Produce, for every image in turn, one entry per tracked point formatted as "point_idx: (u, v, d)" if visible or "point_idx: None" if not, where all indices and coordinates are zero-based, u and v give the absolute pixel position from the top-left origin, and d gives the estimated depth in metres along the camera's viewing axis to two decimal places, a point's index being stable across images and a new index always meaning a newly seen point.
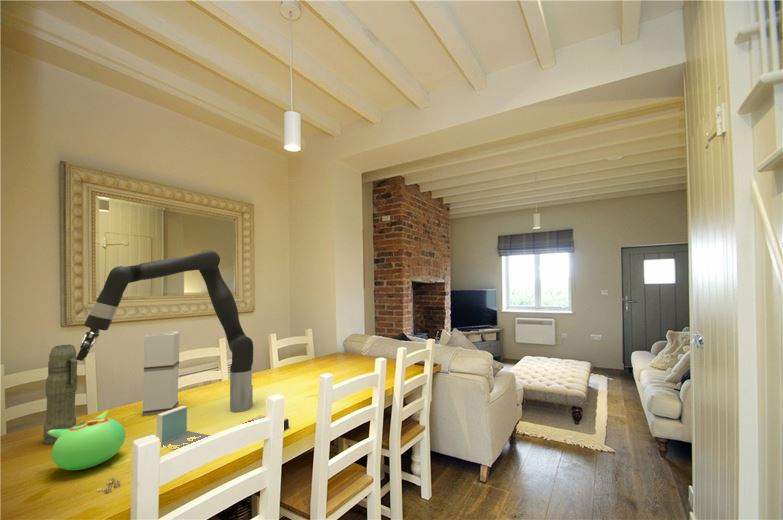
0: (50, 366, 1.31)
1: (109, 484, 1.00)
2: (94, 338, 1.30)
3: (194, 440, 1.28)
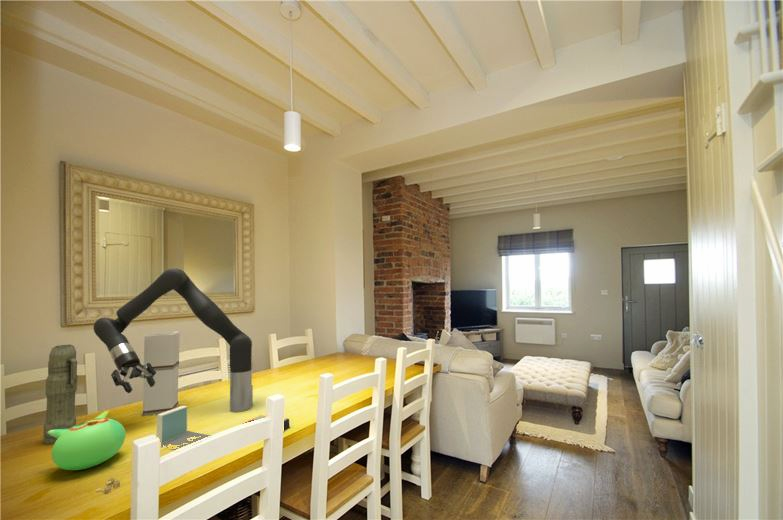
0: (50, 366, 1.31)
1: (109, 484, 1.00)
2: (127, 372, 1.38)
3: (194, 440, 1.28)
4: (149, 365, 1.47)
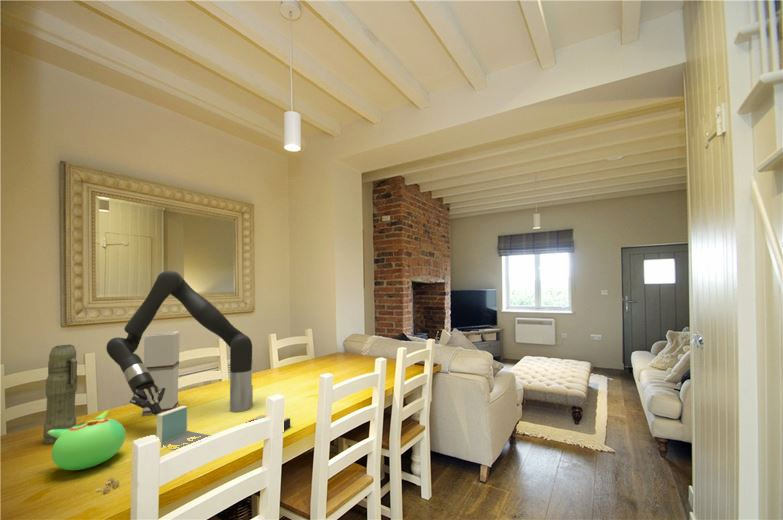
0: (50, 366, 1.31)
1: (108, 484, 0.99)
2: (145, 394, 1.35)
3: (194, 440, 1.28)
4: (162, 390, 1.41)
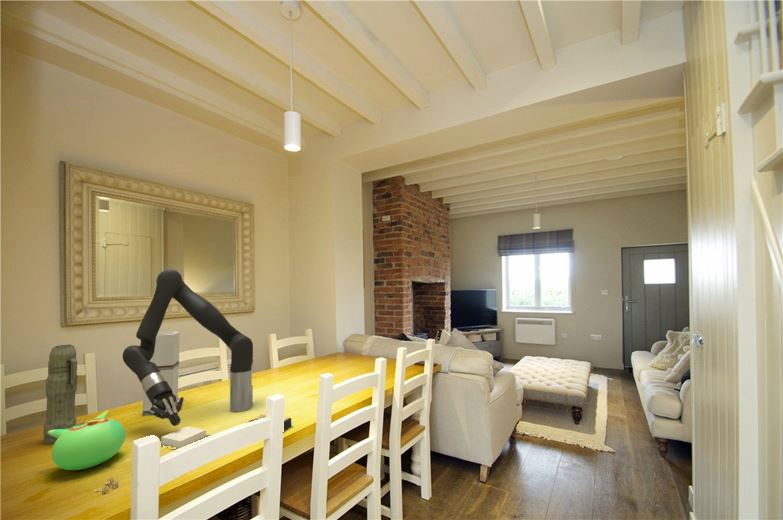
0: (50, 366, 1.31)
1: (107, 484, 0.99)
2: (164, 404, 1.31)
3: None
4: (181, 400, 1.37)
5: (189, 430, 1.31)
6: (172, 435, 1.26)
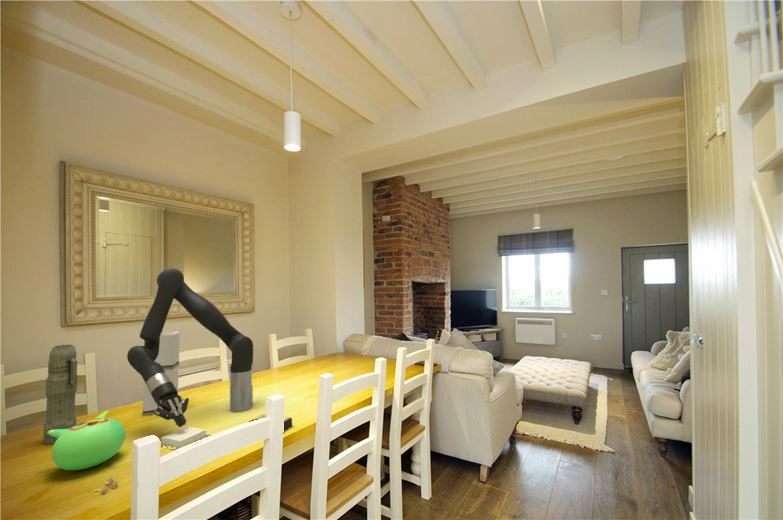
0: (50, 366, 1.31)
1: (107, 485, 0.99)
2: (169, 405, 1.29)
3: None
4: (186, 400, 1.35)
5: (189, 430, 1.31)
6: (172, 435, 1.26)
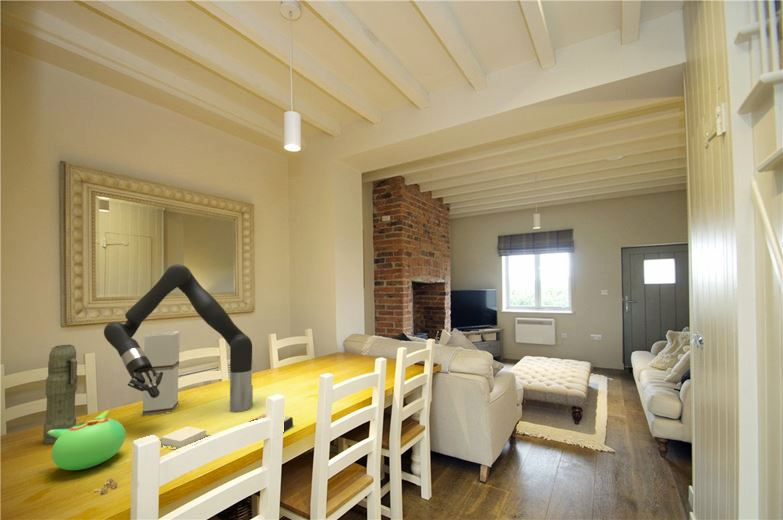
0: (50, 366, 1.31)
1: (106, 485, 0.99)
2: (143, 378, 1.36)
3: None
4: (160, 374, 1.42)
5: (189, 430, 1.31)
6: (172, 435, 1.26)
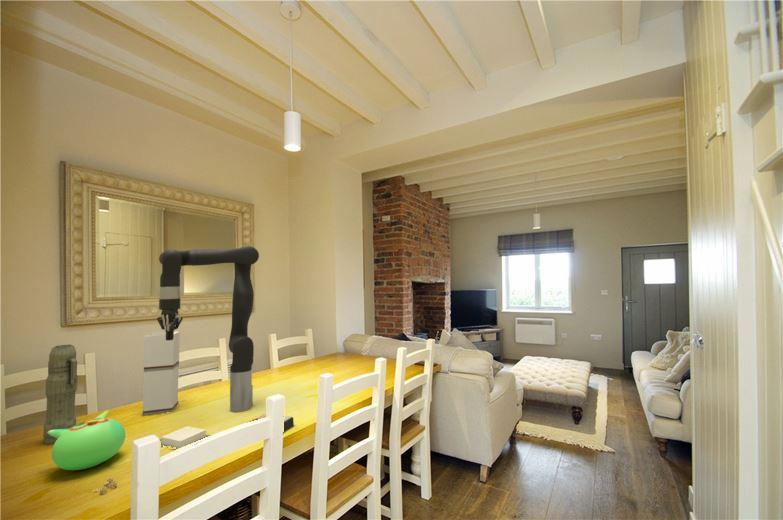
0: (50, 366, 1.31)
1: (106, 485, 0.99)
2: None
3: None
4: None
5: (189, 430, 1.31)
6: (172, 435, 1.26)
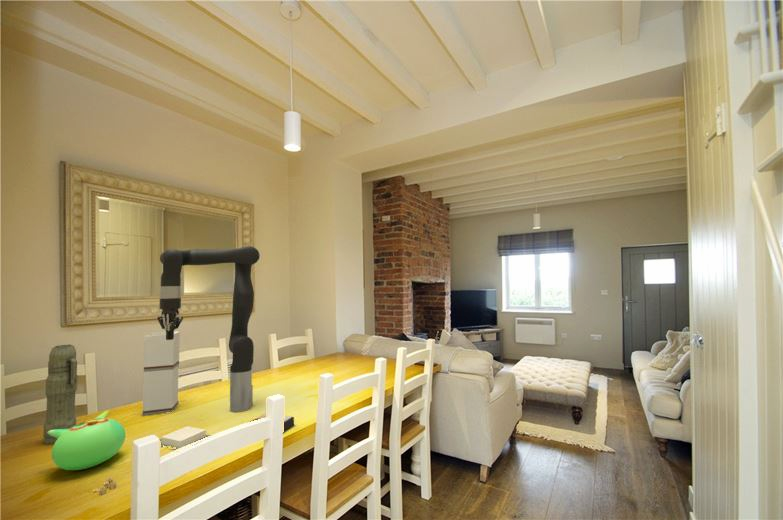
0: (50, 366, 1.31)
1: (105, 485, 0.99)
2: None
3: None
4: None
5: (189, 430, 1.31)
6: (172, 435, 1.26)
